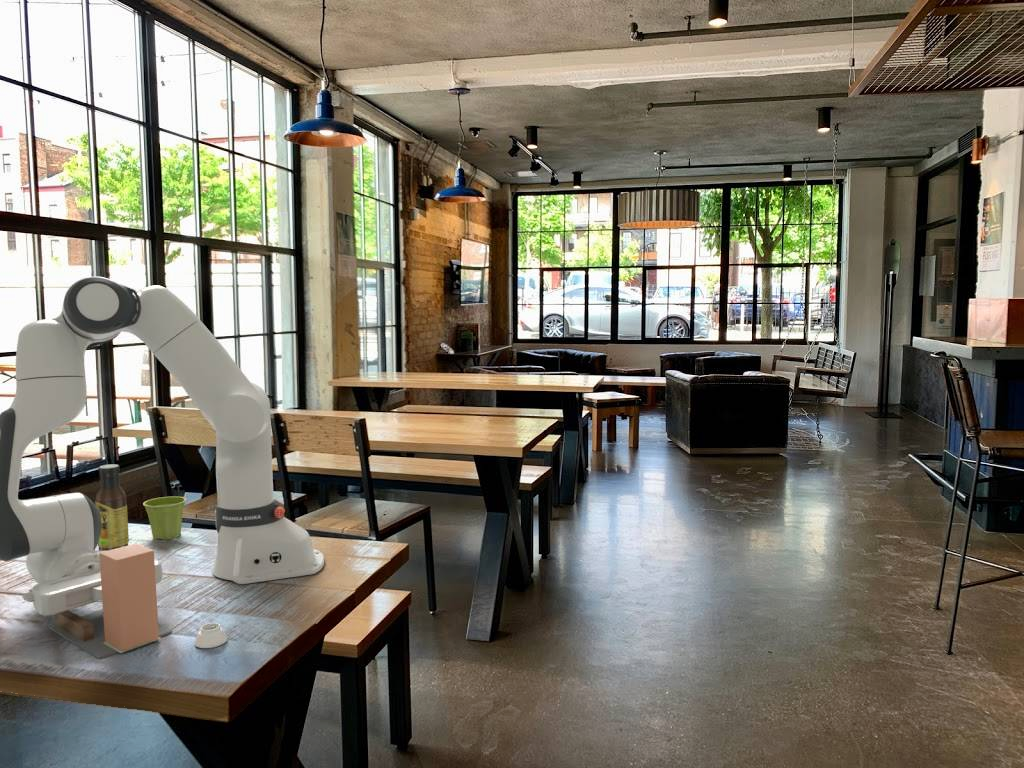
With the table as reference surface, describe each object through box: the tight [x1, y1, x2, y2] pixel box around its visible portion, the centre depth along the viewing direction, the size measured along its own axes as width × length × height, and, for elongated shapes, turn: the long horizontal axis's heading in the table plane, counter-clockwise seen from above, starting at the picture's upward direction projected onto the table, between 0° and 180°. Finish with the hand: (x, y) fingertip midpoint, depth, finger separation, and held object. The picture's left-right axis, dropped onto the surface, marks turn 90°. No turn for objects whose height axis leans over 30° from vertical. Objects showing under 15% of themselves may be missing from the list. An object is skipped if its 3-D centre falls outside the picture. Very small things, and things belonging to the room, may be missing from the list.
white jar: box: [194, 622, 228, 649], centre depth 128 cm, size 5×3×5 cm
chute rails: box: [54, 610, 94, 642], centre depth 135 cm, size 11×10×2 cm
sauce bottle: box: [94, 463, 130, 551], centre depth 173 cm, size 6×6×20 cm
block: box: [99, 543, 159, 652], centre depth 127 cm, size 6×6×15 cm
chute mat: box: [47, 608, 173, 660], centre depth 133 cm, size 20×12×1 cm, turn 52°
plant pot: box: [142, 496, 187, 540], centre depth 185 cm, size 9×9×9 cm
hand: (120, 595), depth 129 cm, fingers closed, pressing on block
